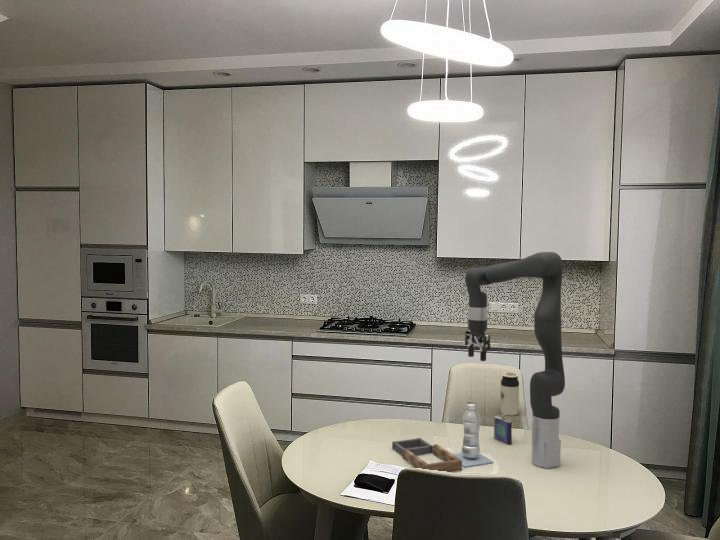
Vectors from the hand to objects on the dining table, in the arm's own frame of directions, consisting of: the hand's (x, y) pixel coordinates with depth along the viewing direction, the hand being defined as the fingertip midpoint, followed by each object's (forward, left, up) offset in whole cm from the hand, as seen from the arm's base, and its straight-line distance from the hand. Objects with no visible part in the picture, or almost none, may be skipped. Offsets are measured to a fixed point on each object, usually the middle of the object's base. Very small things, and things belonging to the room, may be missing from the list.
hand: (477, 358), depth 242 cm
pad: (-19, +15, -32) cm, 40 cm away
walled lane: (-18, +30, -32) cm, 47 cm away
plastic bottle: (-19, +14, -32) cm, 40 cm away
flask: (-7, -8, -32) cm, 34 cm away
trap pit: (-3, +30, -32) cm, 44 cm away
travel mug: (+23, -33, -32) cm, 52 cm away
